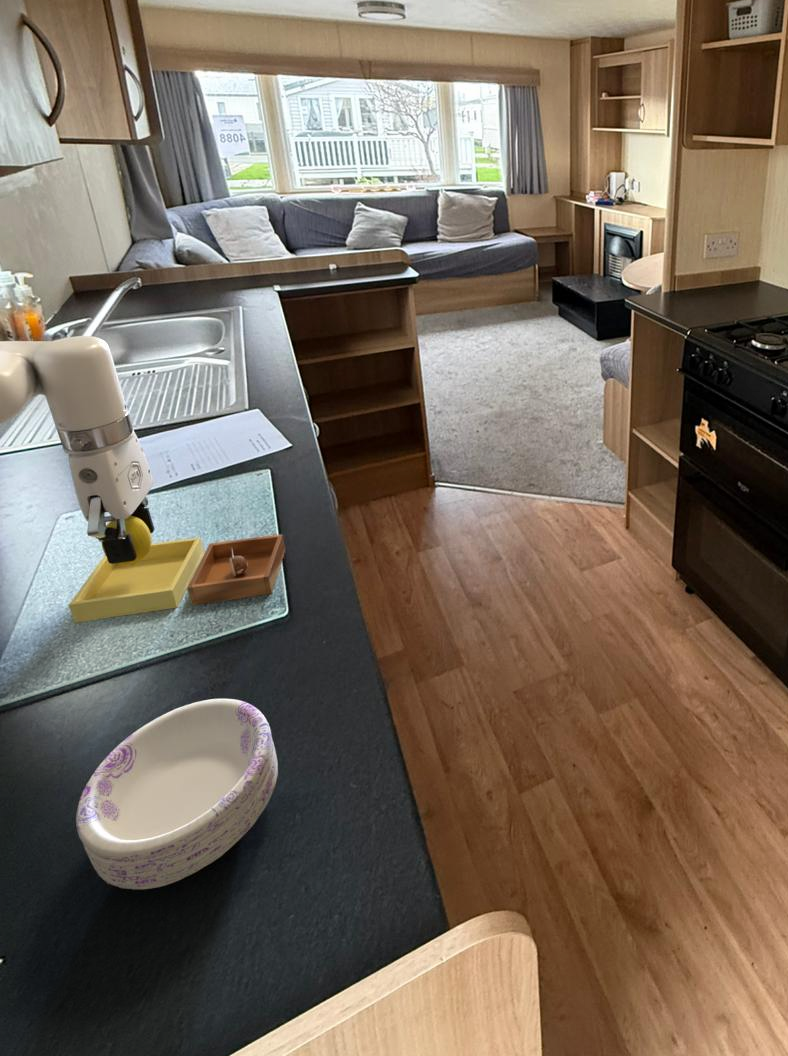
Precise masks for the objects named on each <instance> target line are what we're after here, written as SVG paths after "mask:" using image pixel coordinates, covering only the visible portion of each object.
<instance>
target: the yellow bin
mask: <svg viewBox="0 0 788 1056" xmlns="http://www.w3.org/2000/svg"><path fill="white" fill-rule="evenodd" d="M203 546H204V545H203V543H202V539H201V537H194V538H186V539H179V540H171V541H163V542H162V541H161V542H152V543H151V547H150V550H149V552H148V554H147V555H146V556H145V557H144V558H143V559H142V560H140V561H138V562H137V564H135V565H119V564H115V563H114V564H110V563H109V562H108V559H107V557H106V555H105V554H104V556H103V557H102V559H100V561H99V562H98V564H97V566H96V567H95V568H94V569H93V571H92V572H91V573H90V574H89V576H88V577H87V579H86V581H84V584H82V586H81V587H80V589H79V590H78V592H77V593H76V594H75V595H74V597H73V598H72V600H70V602H69V604H68V608H69V609H70V614H71V616H72V619H73V621H74V623H75V624H76V623H83V622H89V621H96V620H103V619H104V620H105V619H110V618H118V617H124V616H130V615H137V614H145V613H150V612H158V611H163V610H170V609H177V608H178V607H179V605H180V603H181V600H182V599H183V597H184V596H185V593H186V591H187V590H188V589H187V587H188V586H189V584H190V582H191V580H192V578H193V576H194V574H195V572H196V570H197V568H198V566H199V564H200V562H201V560H202V558H203V556H204V554H205V551H204V547H203Z"/></svg>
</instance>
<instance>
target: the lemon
mask: <svg viewBox="0 0 788 1056" xmlns="http://www.w3.org/2000/svg"><path fill="white" fill-rule="evenodd" d="M124 520H125V529H126V534H130V536H131V539H132V542H133V545H134V549H135V552H136V555H137V558H136V559H135V560H134V561H129V562H122V563H115V564H119V565H135V564H137V562H138V561H140V560H142V559H143V558H144V557H145V556H146V555H147V554H148V552H149V550H150V547H151V544H153V542H152V541H153V540H152V539H153V538H152V533H150V531H149V529H148V527H147V525H146V524H145V523H144V522H143V521H142V520H141V519H139V518H137V517H134V516H129V517H128V518H127V519H124ZM106 527H112V528H115V529H116V521H110V522H107V523H106ZM101 549H102V551H103V553H104V556H105V555H106V553H105V550H104V547H103V544H102V543H101ZM106 557H107V556H106Z"/></svg>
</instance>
